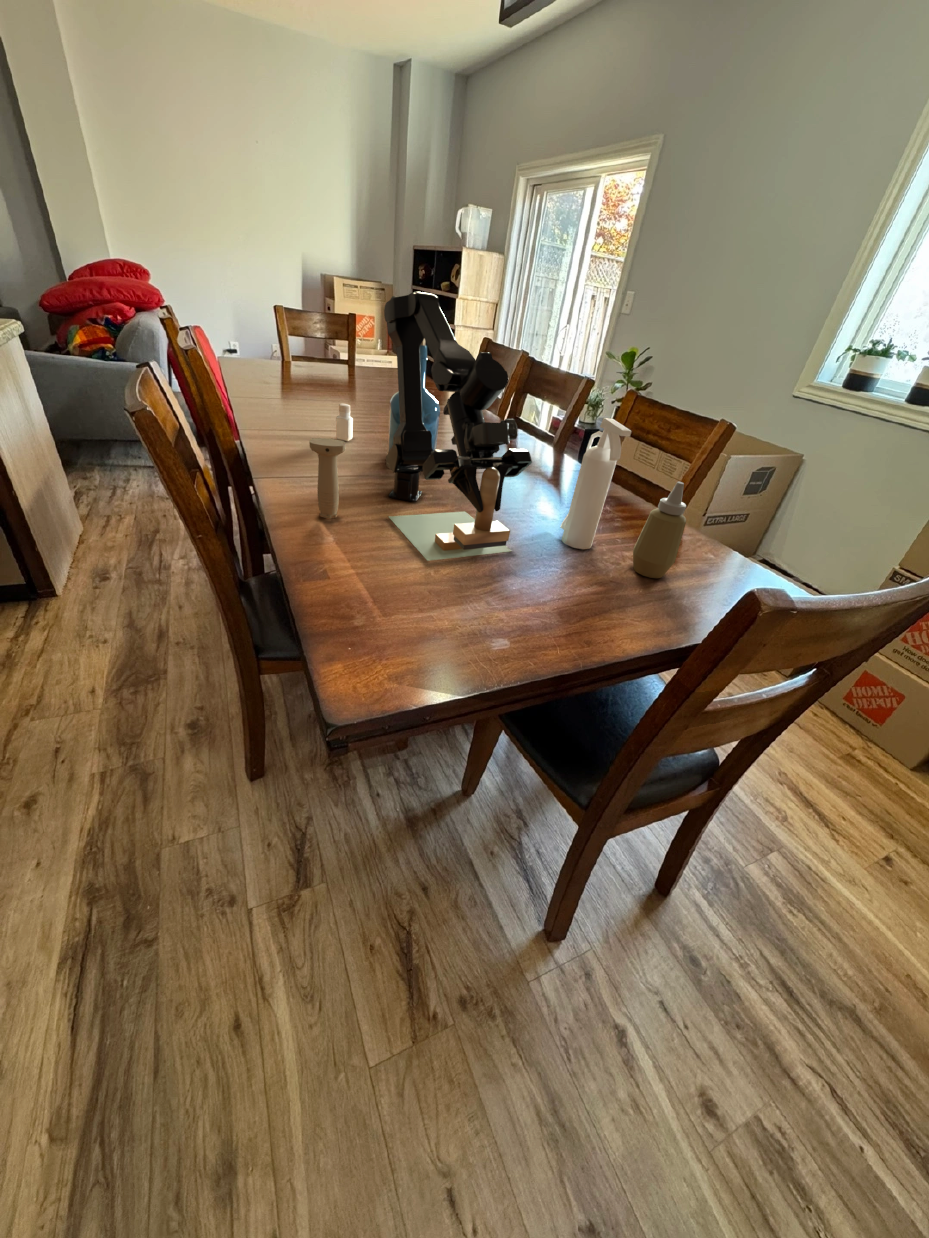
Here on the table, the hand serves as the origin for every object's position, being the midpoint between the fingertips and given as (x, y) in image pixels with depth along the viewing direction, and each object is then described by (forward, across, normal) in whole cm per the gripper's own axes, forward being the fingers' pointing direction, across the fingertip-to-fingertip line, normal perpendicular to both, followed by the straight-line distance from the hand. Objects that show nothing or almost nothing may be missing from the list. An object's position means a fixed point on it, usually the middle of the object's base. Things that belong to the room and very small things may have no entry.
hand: (489, 511), depth 86 cm
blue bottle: (-35, +12, +52) cm, 64 cm away
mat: (-2, 0, +17) cm, 17 cm away
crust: (+1, -2, +13) cm, 13 cm away
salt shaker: (-49, -1, +66) cm, 82 cm away
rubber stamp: (+4, 0, +6) cm, 7 cm away
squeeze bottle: (+14, +33, +1) cm, 36 cm away
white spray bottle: (+4, +27, +12) cm, 30 cm away
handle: (-10, -20, +26) cm, 35 cm away
